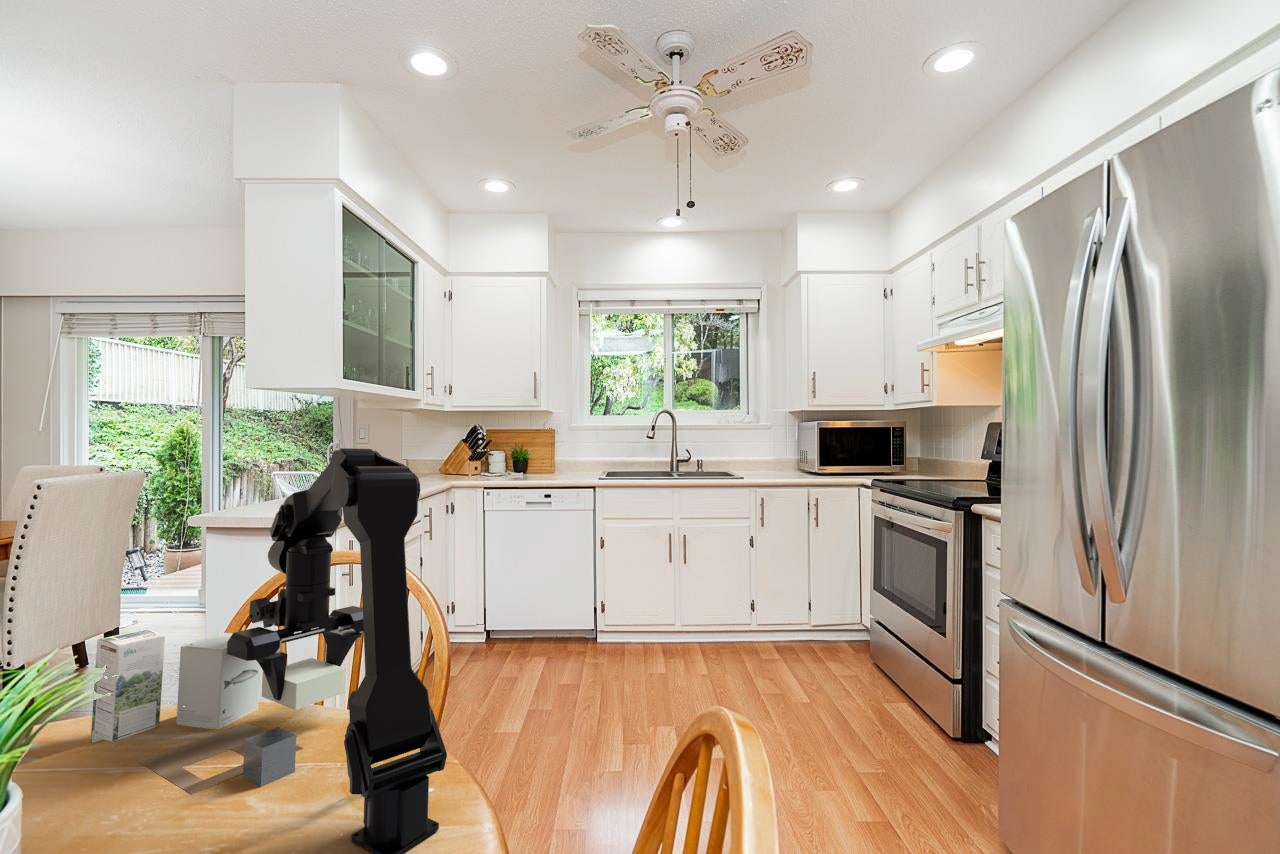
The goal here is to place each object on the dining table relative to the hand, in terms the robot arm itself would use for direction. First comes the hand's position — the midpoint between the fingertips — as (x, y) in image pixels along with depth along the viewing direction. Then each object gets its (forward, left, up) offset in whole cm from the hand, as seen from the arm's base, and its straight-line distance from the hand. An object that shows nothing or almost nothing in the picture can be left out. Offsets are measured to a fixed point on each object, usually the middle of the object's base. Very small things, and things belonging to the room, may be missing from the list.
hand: (304, 691), depth 88 cm
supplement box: (+13, +5, -6) cm, 15 cm away
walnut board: (0, +10, -6) cm, 12 cm away
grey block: (-10, +10, -6) cm, 15 cm away
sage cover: (0, 0, 0) cm, 1 cm away
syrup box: (+19, +14, -6) cm, 25 cm away
